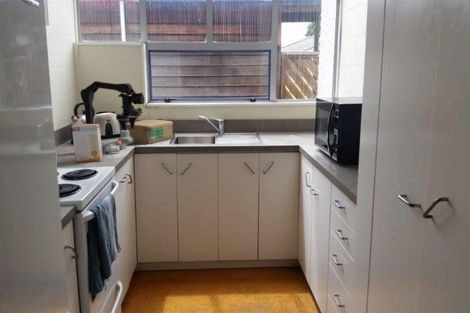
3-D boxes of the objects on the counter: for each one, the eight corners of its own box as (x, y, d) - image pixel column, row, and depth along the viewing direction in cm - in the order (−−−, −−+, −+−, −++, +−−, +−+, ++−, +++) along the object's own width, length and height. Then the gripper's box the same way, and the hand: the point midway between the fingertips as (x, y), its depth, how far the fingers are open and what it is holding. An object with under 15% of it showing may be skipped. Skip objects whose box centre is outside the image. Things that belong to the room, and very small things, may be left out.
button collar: (111, 150, 269) (111, 145, 268) (116, 148, 276) (116, 143, 275) (122, 150, 268) (121, 145, 267) (126, 148, 274) (126, 143, 274)
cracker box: (103, 159, 242) (99, 123, 237) (100, 161, 236) (96, 124, 231) (78, 160, 241) (75, 124, 237) (75, 162, 235) (71, 125, 231)
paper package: (149, 145, 284) (148, 124, 281) (122, 142, 298) (121, 123, 295) (175, 139, 307) (174, 120, 304) (149, 137, 320) (147, 118, 317)
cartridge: (98, 153, 258) (98, 146, 257) (102, 151, 262) (101, 144, 261) (117, 153, 256) (116, 146, 255) (120, 151, 260) (119, 144, 259)
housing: (95, 154, 256) (95, 145, 255) (102, 151, 264) (101, 143, 263) (105, 154, 255) (104, 145, 254) (110, 151, 263) (110, 143, 262)
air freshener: (135, 143, 290) (134, 129, 288) (132, 145, 282) (131, 131, 280) (119, 144, 291) (118, 130, 288) (116, 146, 282) (115, 131, 280)
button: (115, 147, 270) (115, 141, 269) (117, 146, 273) (117, 140, 272) (120, 147, 270) (119, 141, 269) (122, 146, 272) (121, 140, 272)
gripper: (131, 105, 243) (133, 132, 246) (146, 103, 260) (147, 127, 264) (114, 105, 245) (116, 131, 249) (130, 103, 263) (131, 127, 266)
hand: (128, 129), depth 257 cm, fingers open, 9 cm apart
